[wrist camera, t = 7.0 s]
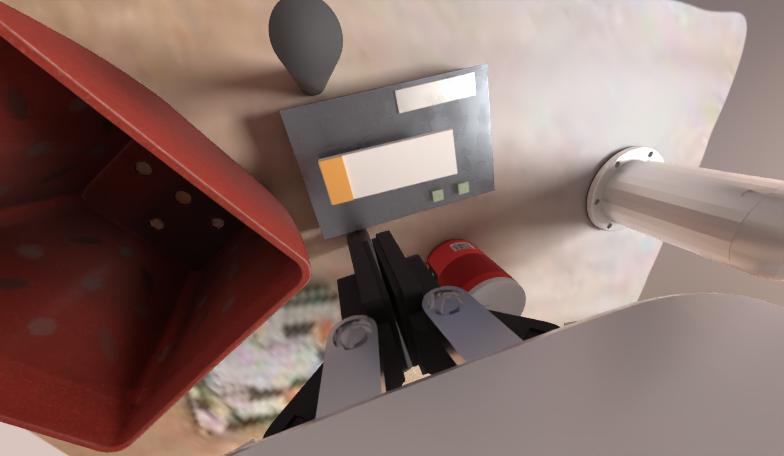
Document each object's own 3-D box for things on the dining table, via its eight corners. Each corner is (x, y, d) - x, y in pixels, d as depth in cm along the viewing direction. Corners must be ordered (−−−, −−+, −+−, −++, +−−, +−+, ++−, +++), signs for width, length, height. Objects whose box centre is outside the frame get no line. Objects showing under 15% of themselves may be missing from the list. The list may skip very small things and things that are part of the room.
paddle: (448, 128, 26) (453, 129, 25) (453, 170, 28) (458, 174, 27) (318, 159, 26) (317, 162, 25) (331, 200, 28) (331, 205, 26)
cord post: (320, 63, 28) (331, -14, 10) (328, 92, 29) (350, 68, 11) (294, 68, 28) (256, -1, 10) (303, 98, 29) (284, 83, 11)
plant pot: (10, 194, 26) (-403, 312, 11) (151, 42, 25) (-107, -61, 10) (203, 305, 35) (116, 459, 19) (318, 196, 33) (320, 272, 18)
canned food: (413, 264, 40) (445, 317, 30) (457, 225, 39) (506, 265, 29) (444, 295, 43) (482, 351, 33) (485, 259, 42) (537, 306, 32)
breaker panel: (467, 68, 32) (497, 60, 26) (477, 182, 37) (503, 194, 32) (283, 110, 29) (276, 111, 24) (323, 226, 34) (324, 247, 29)
